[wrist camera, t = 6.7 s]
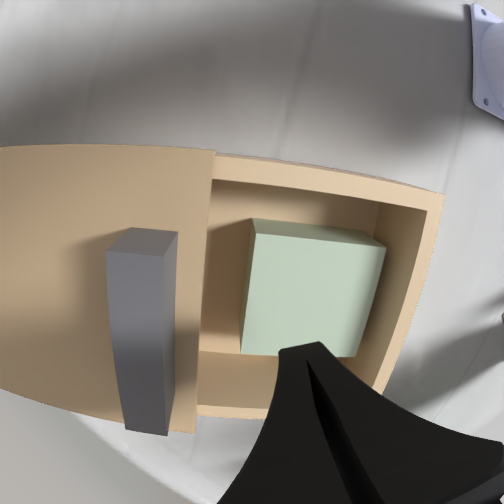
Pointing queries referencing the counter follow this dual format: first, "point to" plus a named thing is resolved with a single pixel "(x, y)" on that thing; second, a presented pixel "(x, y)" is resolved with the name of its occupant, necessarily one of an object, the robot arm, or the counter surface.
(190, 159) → the lid
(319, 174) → the box
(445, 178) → the counter surface
